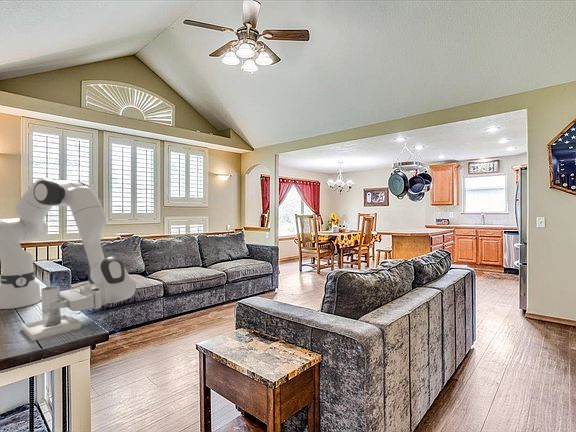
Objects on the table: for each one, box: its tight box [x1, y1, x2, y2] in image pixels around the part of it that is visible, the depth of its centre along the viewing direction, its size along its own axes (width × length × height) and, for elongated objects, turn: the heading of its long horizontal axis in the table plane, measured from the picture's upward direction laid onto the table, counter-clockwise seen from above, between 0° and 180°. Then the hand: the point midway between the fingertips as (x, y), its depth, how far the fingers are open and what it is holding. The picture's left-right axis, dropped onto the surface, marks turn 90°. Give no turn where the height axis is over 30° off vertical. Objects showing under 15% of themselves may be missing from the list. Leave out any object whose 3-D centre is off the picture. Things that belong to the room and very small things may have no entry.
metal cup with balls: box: [40, 285, 62, 327], centre depth 115 cm, size 5×5×14 cm
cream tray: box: [20, 313, 82, 342], centre depth 116 cm, size 16×14×2 cm
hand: (48, 304), depth 114 cm, fingers closed on metal cup with balls, 5 cm apart
